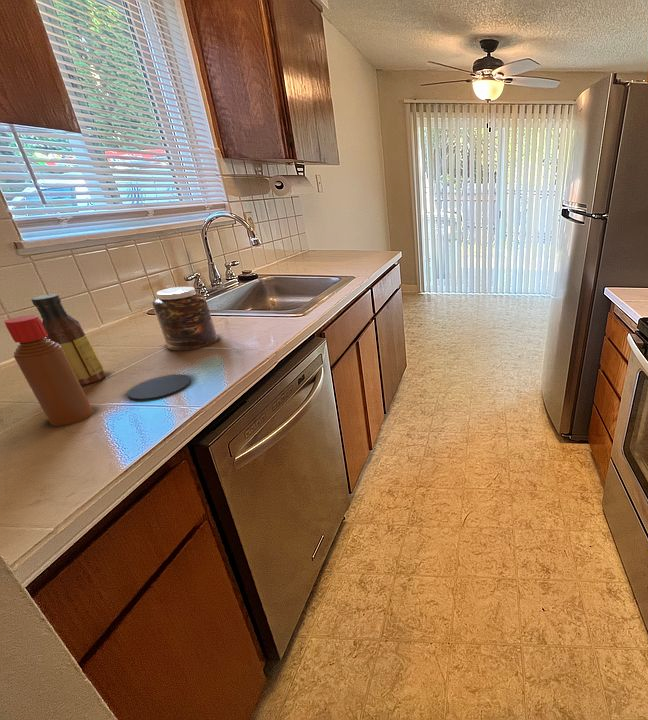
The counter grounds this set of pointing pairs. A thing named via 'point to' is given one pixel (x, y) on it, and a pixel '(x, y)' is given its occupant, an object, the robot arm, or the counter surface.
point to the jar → (184, 318)
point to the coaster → (159, 387)
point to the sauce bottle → (69, 338)
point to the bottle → (53, 381)
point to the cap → (26, 328)
